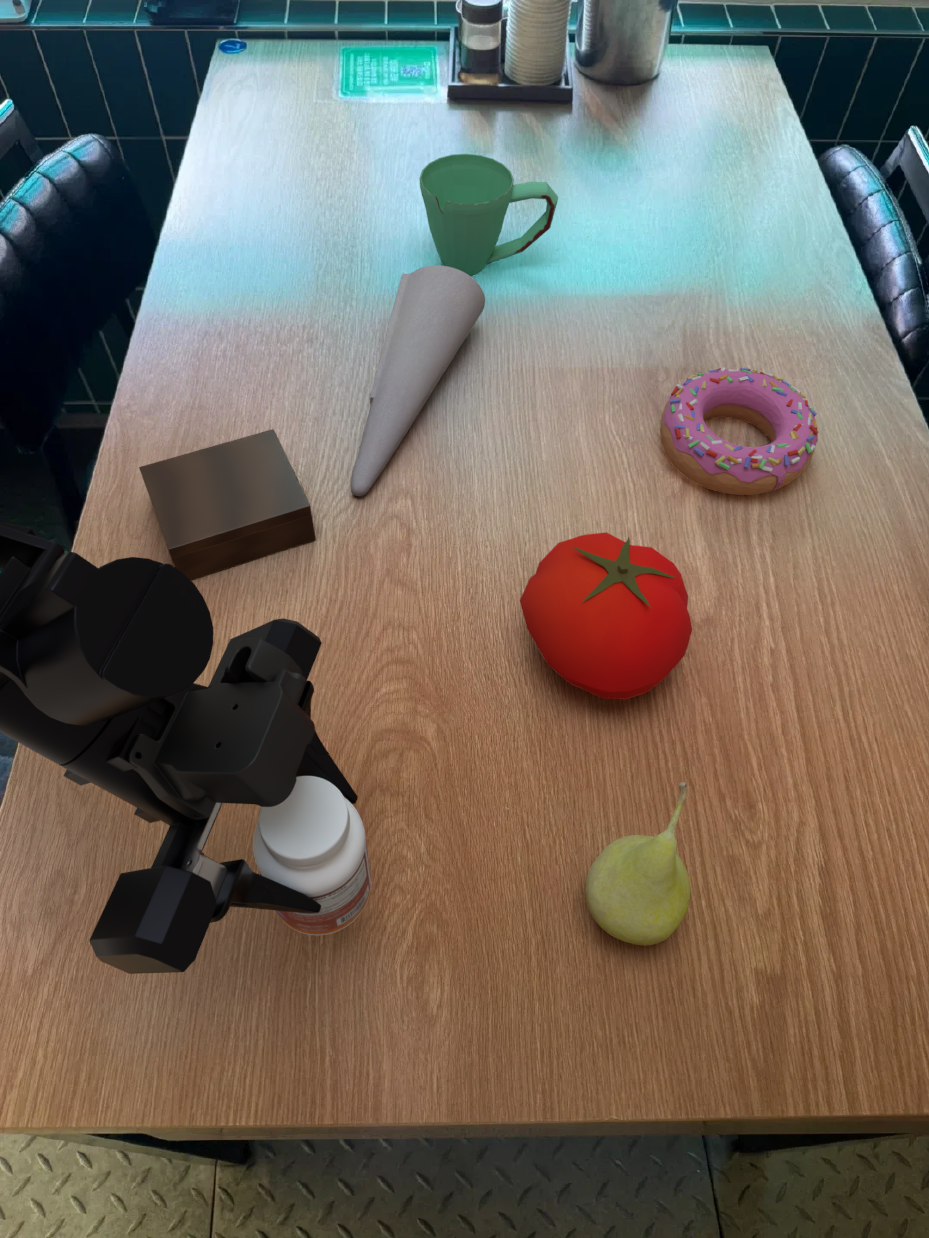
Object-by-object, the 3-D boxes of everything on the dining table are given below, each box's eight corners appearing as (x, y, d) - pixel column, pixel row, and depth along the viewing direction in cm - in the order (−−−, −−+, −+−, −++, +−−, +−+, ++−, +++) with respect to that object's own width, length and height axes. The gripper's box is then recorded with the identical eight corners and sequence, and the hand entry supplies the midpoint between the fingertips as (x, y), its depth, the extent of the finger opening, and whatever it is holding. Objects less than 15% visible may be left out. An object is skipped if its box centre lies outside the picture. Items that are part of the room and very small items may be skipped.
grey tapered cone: (440, 481, 81) (486, 271, 93) (341, 466, 81) (400, 259, 94) (440, 531, 88) (483, 329, 100) (349, 517, 88) (403, 318, 100)
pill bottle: (277, 839, 60) (251, 759, 51) (374, 841, 60) (366, 762, 51) (265, 938, 56) (234, 871, 47) (368, 940, 57) (357, 873, 48)
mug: (420, 289, 104) (419, 204, 95) (421, 237, 109) (420, 152, 101) (553, 291, 104) (563, 206, 96) (547, 239, 110) (556, 155, 102)
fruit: (565, 932, 63) (589, 867, 54) (602, 835, 67) (630, 758, 58) (661, 974, 62) (703, 915, 52) (693, 872, 66) (737, 800, 56)
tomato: (709, 676, 75) (744, 597, 67) (584, 748, 71) (605, 674, 63) (608, 564, 82) (628, 479, 73) (489, 625, 78) (495, 542, 69)
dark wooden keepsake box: (180, 583, 80) (168, 549, 76) (151, 502, 85) (138, 466, 81) (316, 540, 83) (310, 505, 79) (280, 464, 88) (273, 428, 84)
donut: (634, 411, 93) (644, 371, 89) (767, 389, 95) (782, 349, 91) (690, 518, 85) (703, 479, 81) (834, 491, 87) (853, 452, 83)
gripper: (78, 885, 34) (381, 1031, 42) (261, 513, 45) (476, 685, 53) (-34, 904, 42) (242, 1025, 49) (146, 580, 52) (350, 722, 60)
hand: (334, 854), depth 53 cm, fingers closed on pill bottle, 6 cm apart
